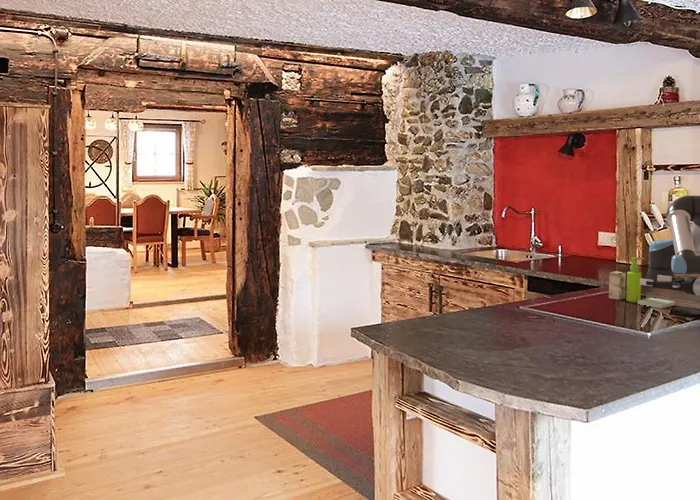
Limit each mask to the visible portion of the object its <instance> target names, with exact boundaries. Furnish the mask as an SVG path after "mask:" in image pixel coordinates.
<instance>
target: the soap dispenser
mask: <svg viewBox="0 0 700 500" xmlns="http://www.w3.org/2000/svg"><path fill="white" fill-rule="evenodd" d="M630 259H631V260H632V264H630V268H629V269H630V271H627V273H626V274H627V275H626V294H625V301H626V302H628V301H629V303H638V301H640V300H641V296H642V295H641V293H642V292H641V291H642V290H641V289H642V285H640V279H641V278H642V272H639V268H640V267H639V266H640V265H639V264H638V260H641V261H642V260H645V258H644V257H640V256H638V257H637V256H635V257H630Z"/></svg>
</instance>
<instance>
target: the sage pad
mask: <svg viewBox="0 0 700 500" xmlns="http://www.w3.org/2000/svg"><path fill="white" fill-rule="evenodd" d="M638 304H640V305H639V306H644V305H646V306H645V307H649V306H651V307H650V308H656V309H665V308H669V307H673V306H676V301H674V300H668V299H661V298H657V297H655V298H654V297H649V298H645V299H640V301H638V302H637V305H638Z"/></svg>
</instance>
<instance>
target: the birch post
mask: <svg viewBox="0 0 700 500" xmlns="http://www.w3.org/2000/svg"><path fill="white" fill-rule="evenodd" d="M608 274H609V280H608V281H609V282H608V299H613V300H618V301H619V300H622V299H626V278H627V275H626V274H627V273H626V271H617V270H615V271H611V272H609V273H608Z"/></svg>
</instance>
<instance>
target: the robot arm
mask: <svg viewBox="0 0 700 500" xmlns="http://www.w3.org/2000/svg"><path fill="white" fill-rule="evenodd" d="M665 219H666V223H667V224H668V225H669V227H670V232H671V237H672V238H665V239H657V240H653V241H651V242H650V244H649V250H648V255H649V257H648V270H647V272H646V275H645V278H642V277H641V279H640V285H641V286H646V287H647V286H648V287H651V288H652V289H664V290H665V289H667V290H669V289H670V290H683V291H684V293H685V294H687V295H692V296H700V277H698V276H697V277H696V276H688V277H683V276H676V274H683V275H690V274H691V275H700V195H683V196H680V197H677V198H676V199H675V200H673V202H671V203H670V205H669V206H668V208H667V210H666V214H665ZM690 222H692V225H690Z"/></svg>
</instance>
